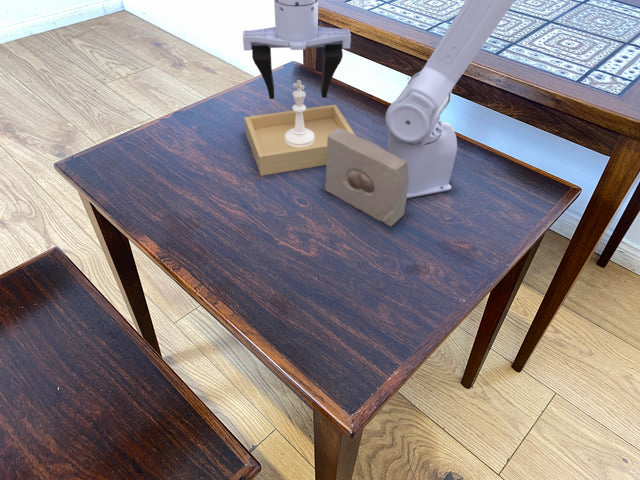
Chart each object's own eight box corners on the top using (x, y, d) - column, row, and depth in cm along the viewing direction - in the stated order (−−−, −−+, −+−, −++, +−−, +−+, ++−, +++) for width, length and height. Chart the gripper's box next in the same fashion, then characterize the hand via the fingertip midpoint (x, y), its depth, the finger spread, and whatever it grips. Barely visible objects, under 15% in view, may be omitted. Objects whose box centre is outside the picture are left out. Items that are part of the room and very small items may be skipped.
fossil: (323, 191, 73) (324, 135, 67) (338, 180, 75) (341, 124, 69) (390, 228, 68) (399, 171, 61) (405, 215, 70) (415, 159, 63)
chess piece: (306, 151, 78) (305, 91, 71) (278, 142, 80) (275, 84, 73) (320, 135, 81) (321, 77, 74) (293, 128, 83) (292, 70, 76)
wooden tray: (335, 122, 87) (335, 104, 85) (357, 159, 79) (359, 141, 77) (246, 135, 84) (244, 116, 81) (260, 176, 76) (259, 156, 73)
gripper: (238, 10, 61) (247, 110, 71) (355, 9, 62) (349, 107, 72) (240, -9, 66) (249, 86, 76) (349, -11, 67) (344, 84, 77)
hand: (297, 95), depth 74 cm, fingers open, 7 cm apart
